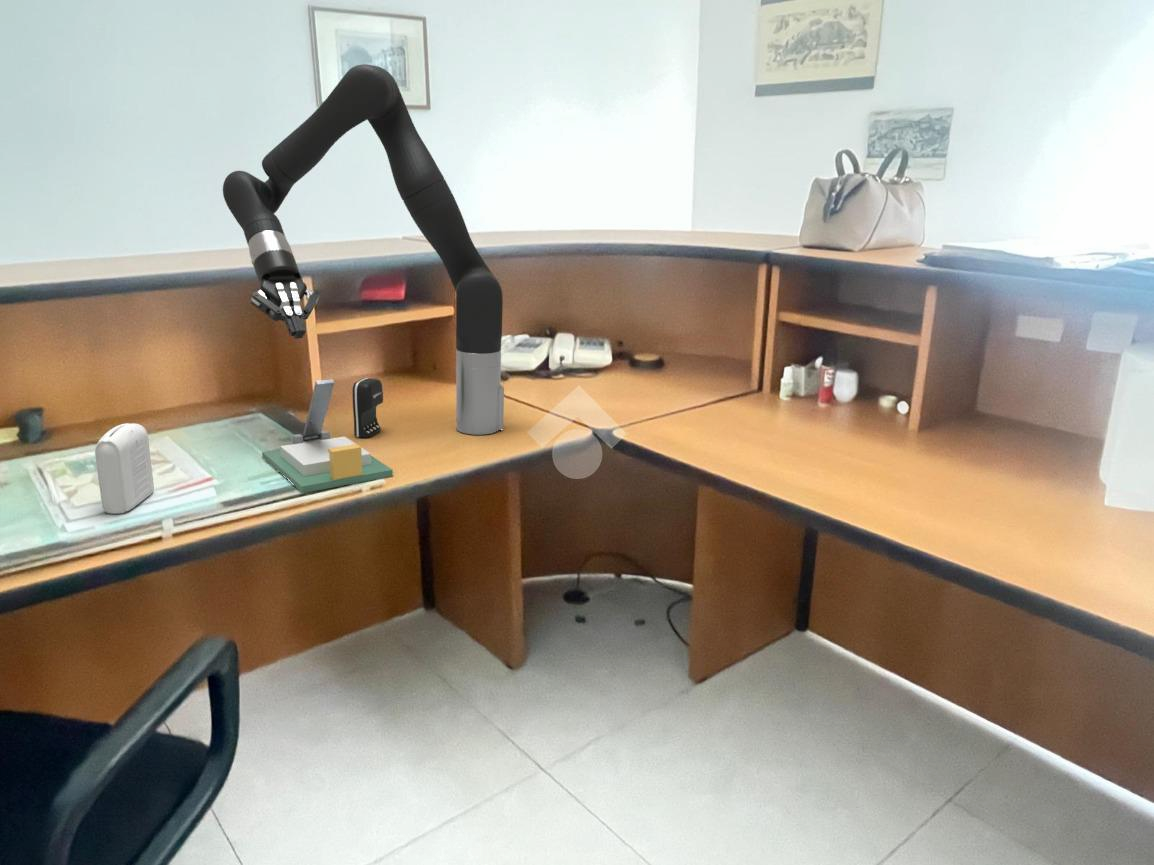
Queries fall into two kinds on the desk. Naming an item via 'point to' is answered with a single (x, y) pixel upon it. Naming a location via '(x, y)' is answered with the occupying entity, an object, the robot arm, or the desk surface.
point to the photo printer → (124, 468)
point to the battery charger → (366, 406)
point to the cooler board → (324, 477)
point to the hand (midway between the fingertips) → (299, 335)
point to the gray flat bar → (317, 409)
